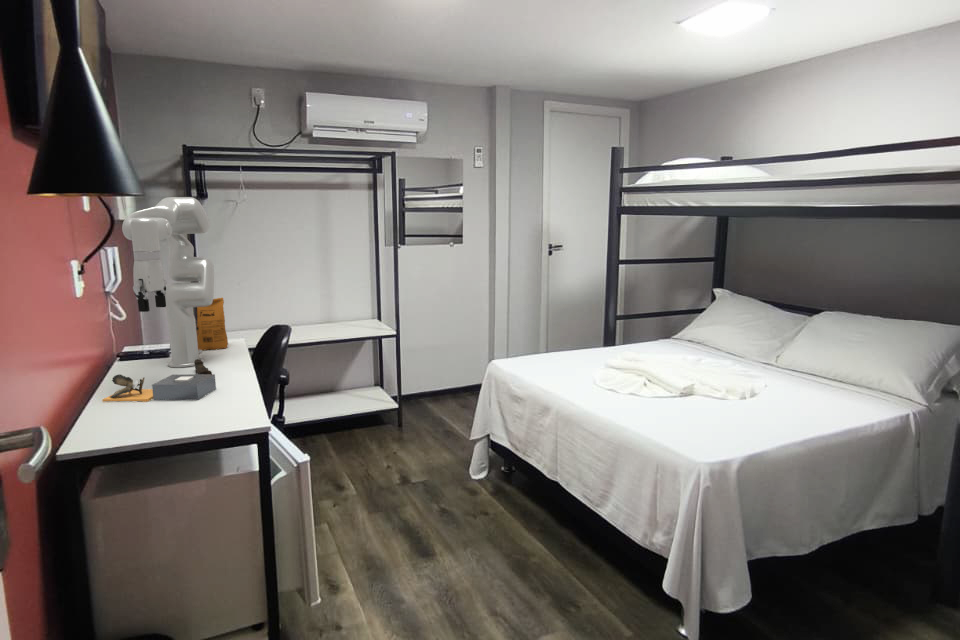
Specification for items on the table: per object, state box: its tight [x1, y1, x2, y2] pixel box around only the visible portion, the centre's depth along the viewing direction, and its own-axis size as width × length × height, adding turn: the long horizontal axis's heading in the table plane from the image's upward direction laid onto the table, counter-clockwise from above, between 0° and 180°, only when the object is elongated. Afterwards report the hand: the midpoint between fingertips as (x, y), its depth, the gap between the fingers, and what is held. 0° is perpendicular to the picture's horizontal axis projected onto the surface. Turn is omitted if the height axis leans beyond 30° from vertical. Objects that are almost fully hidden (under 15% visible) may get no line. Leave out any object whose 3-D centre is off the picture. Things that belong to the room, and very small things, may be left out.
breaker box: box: [151, 373, 217, 401], centre depth 187 cm, size 12×14×5 cm
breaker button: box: [175, 376, 194, 381], centre depth 187 cm, size 4×4×4 cm
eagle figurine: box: [109, 373, 145, 398], centre depth 184 cm, size 8×7×9 cm
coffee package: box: [196, 297, 229, 352], centre depth 255 cm, size 10×12×22 cm
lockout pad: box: [102, 388, 153, 403], centre depth 186 cm, size 11×14×1 cm
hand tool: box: [194, 359, 213, 374], centre depth 212 cm, size 19×4×5 cm, turn 32°
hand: (152, 309), depth 192 cm, fingers open, 9 cm apart
